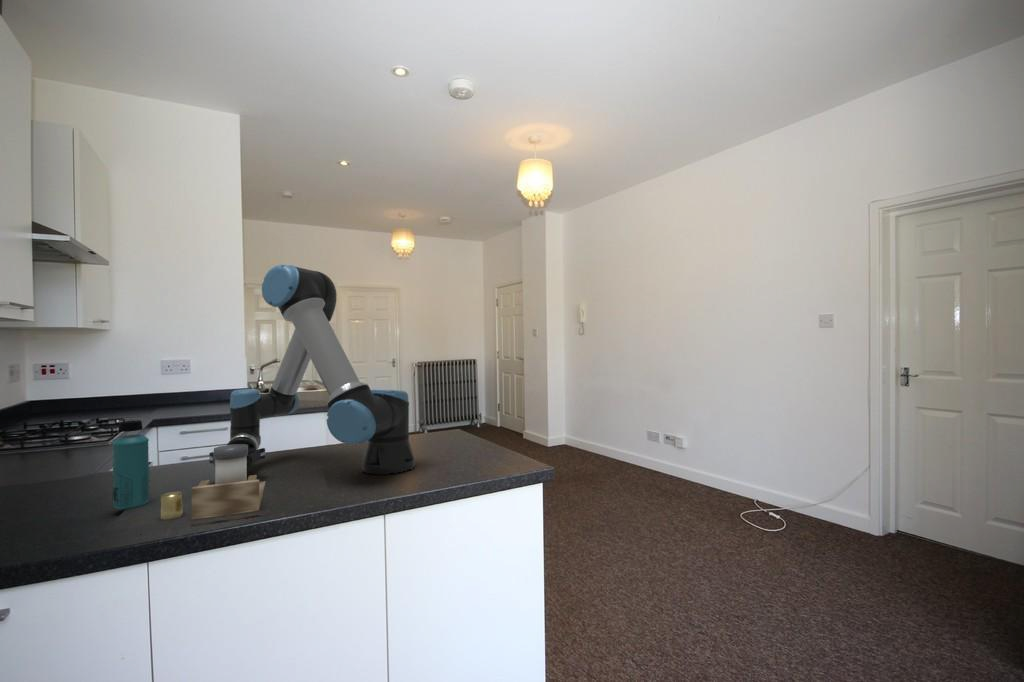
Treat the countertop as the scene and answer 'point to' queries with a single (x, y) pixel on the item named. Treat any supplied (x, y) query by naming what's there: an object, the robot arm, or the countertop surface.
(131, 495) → the beverage bottle
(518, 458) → the countertop surface
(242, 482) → the mount
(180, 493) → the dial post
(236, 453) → the grey-lidded white jar
